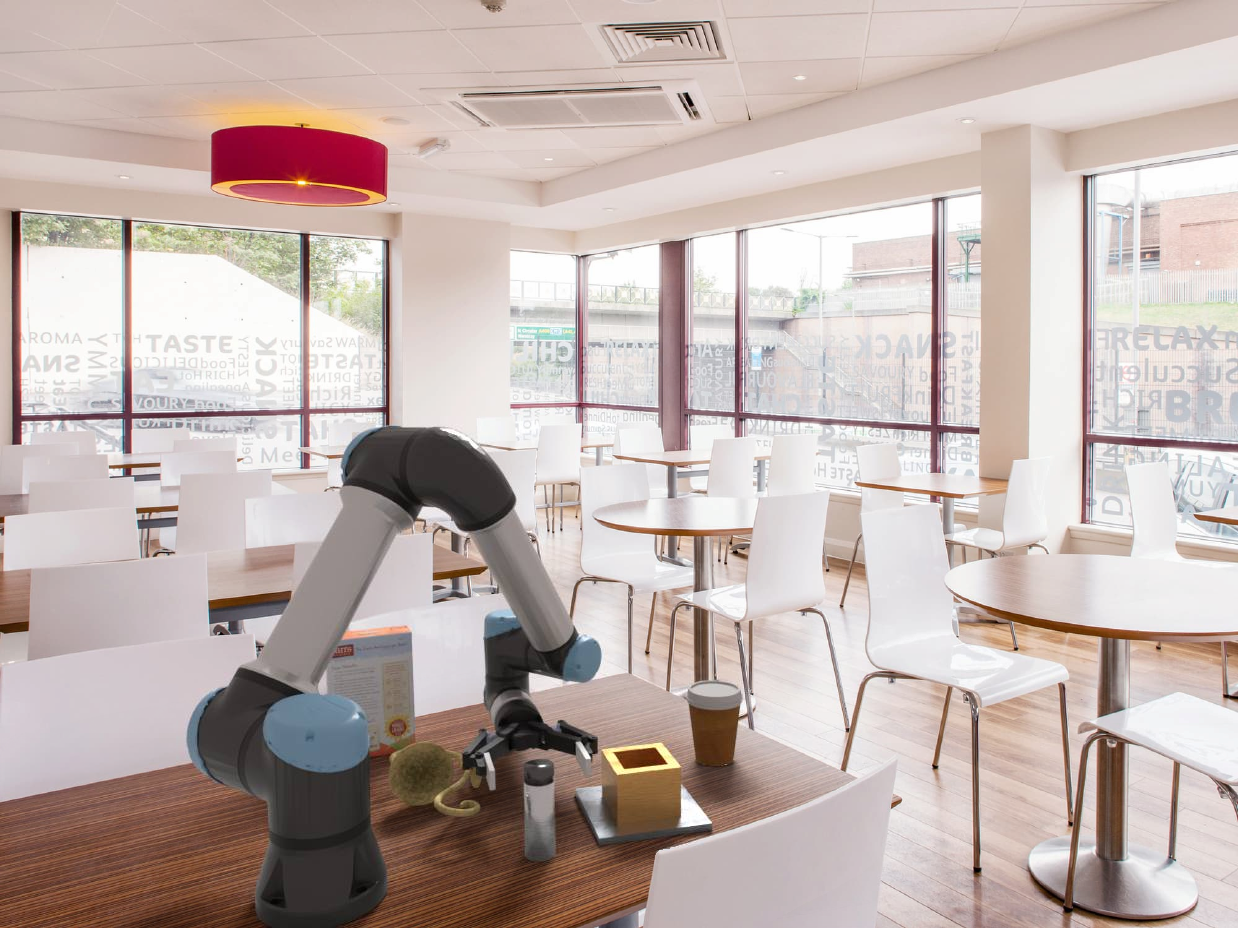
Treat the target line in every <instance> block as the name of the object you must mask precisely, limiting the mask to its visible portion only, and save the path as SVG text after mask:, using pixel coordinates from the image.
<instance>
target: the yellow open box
mask: <svg viewBox="0 0 1238 928" xmlns="http://www.w3.org/2000/svg"><path fill="white" fill-rule="evenodd" d="M574 792H575V793H574V795H575V797H576V799H577V802H578V804H579V805H580V809H581V810H582V812H583V814H584V817H585V819H586V821H587V823H588V824H589V827H590V828H591V829H590V830H591V831H592V834H593V835H594V837H595V839H596V842H597V843H598V846H606V845H614V844H622V843H628V842H636V841H643V840H651V839H658V838H665V837H672V836H679V835H678V834H681V835H687V833H688V834H695V833H702V832H710V831H713V823H712V821H711V820H710V819H709V817H708V816H707V814H706V813H705V812H704V811H703V809H702V808H701V807H700V805H699V804H698V802H696V800H695V799H694V798H693V797H692V795H691V794H690V793H689V792H688V790H687V789H686V787H684V784H682V766H681V765H680V764H679V763H678V762H677V760H676V759H675V758H674V756H673V755H672V754H671V752H669V750H668V749H667V748H666V747H665V745H664V744H663V743H662V742H657V743H649V744H646V743H645V744H638V745H629V746H619V747H610V748H604V749H603V748H602V749H601V785H596V786H595V785H593V786H585V787H577V788H575V789H574ZM693 832H694V833H693Z"/></svg>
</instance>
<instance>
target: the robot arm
mask: <svg viewBox="0 0 1238 928" xmlns="http://www.w3.org/2000/svg"><path fill="white" fill-rule="evenodd" d="M340 469H341V470H342V473H341V474H340V477H341V478H340V480H341V483H342V485H341V487H340V489H339V491H338V494H339V496H340V499H341V500H340V501H341V503H342V507H341V510H340V511H339V513H338V514H337V516H336V518H335V520H334V522H333V523H332V525H331V527H330V529H329V530H328V532H327V534H326V536H325V538H324V539H323V541H322V543H321V545H320V546H319V549H318V550H317V552H316V554H315V556H314V557H313V558H312V561H311V562H310V564H309V566H308V568H307V569H306V571H305V573H304V575H303V576H302V578H301V580H300V582H299V583H298V585H297V587H296V589H295V590H294V593H293V594H292V597H291V598H290V600H289V602H288V603H287V605H286V607H285V609H284V610H283V612H282V614H281V616H280V617H279V619H278V621H277V622H276V625H275V626H274V628H273V630H272V632H271V633H270V635H269V637H268V639H267V640H266V642H265V644H264V646H263V648H262V649H261V651H260V653H259V655H258V657H257V658H256V659H253V660H251V661H248V662H245V663H242V664H241V665H239V666H238V668H237V670H236V671H235V672H234V675H233V677H232V679H231V680H230V682H228V683H229V684H228V685H223V686H221V687H218V688H217V689H216V690H214V691H210V692H209V693H207V694H206V695H205V696H203V698H202V699H201V700H200V702H198V703H197V705H196V706H195V708H194V710H193V712H192V714H191V716H190V719H189V721H188V725H187V729H186V730H187V731H186V747H187V752H188V754H189V758H190V760H191V762H192V763H193V765H194V767H195V768H196V769H197V770H198V771H200V772H201V773H202V774H203V775H205V776H207V777H209V778H210V779H211V780H212V781H213V782H215V783H217V784H220V785H222V786H226V787H230V788H233V789H235V790H237V791H240V792H243V793H244V794H248V795H250V796H253V797H254V798H257V799H260V800H262V801H265V802H266V803H267V818H268V819H267V820H268V821H267V822H268V844H267V845H268V846H267V849H266V852H265V855H264V859H263V862H262V866H261V869H260V871H259V874H258V875H259V876H258V879H257V882H256V886H255V889H254V901H255V903H254V904H255V913H256V916H257V918H258V919H259V921H261V922H262V923H263V924H264V925H266V926H268V927H270V928H335V927H340V926H342V925H345V924H348V923H350V922H353V921H354V920H355V921H356V920H357V919H359V918H361V917H363V916H365V915H367V914H368V913H369V912H371V911H372V910H373V909H375V908H376V907H377V906H378V905H380V903H381V902H382V900H384V898H385V896H386V894H387V891H388V886H389V884H388V868H387V864H386V861H385V859H384V856H383V853H382V850H381V848H380V846H379V843H378V840H377V837H376V836H375V832H374V830H373V828H372V820H371V819H372V817H371V772H370V771H371V770H370V769H371V767H370V766H371V764H370V763H371V762H370V761H371V760H370V759H371V757H370V750H369V748H370V736H369V733H368V726H367V719H366V715H365V713H364V711H363V709H362V708H361V707H360V706H359V705H358V704H357V703H355V702H354V701H352V700H350V699H348V698H345V697H342V696H339V695H334V694H327V693H326V694H320V691H319V684H320V681H321V679H322V678H323V676H324V674H325V673H326V668H327V666H328V664H329V663H330V661H331V659H332V657H333V655H334V653H335V651H336V649H337V647H338V645H339V643H340V641H341V640H342V638H343V636H344V634H345V632H346V631H347V630H348V628H349V626H350V624H351V623H352V620H354V619H353V618H354V616H355V615H356V612H357V611H358V609H359V608H360V605H361V603H362V602H363V600H364V598H365V595H366V593H367V592H368V590H369V588H370V585H371V584H372V582H373V580H374V578H375V576H376V575H377V572H378V571H379V569H380V567H381V565H382V564H383V561H384V559H385V557H386V555H387V554H388V551H389V550H390V548H391V546H392V544H393V542H394V540H395V538H396V537H397V534H399V533H400V532H404V531H407V530H410V529H412V528H413V526H414V524H415V523H416V520H417V519H418V517H419V515H420V513H421V511H422V509H423V508H424V507H425V508H427V507H428V508H436V509H439V510H440V511H443V512H444V513H446V514H447V515H448V516H449V517H450V518H451V520H452V522H453V523H454V524H455V526H456V528H457V529H458V530H459V531H460V532H462V533H467V534H468V535H469V537H470V539H471V540H472V542H473V544H474V546H475V547H476V548H477V551H478V552H479V554H480V556H481V558H482V560H483V562H484V563H485V565H486V566H487V568H488V570H489V573H490V574H491V575H492V577H493V579H494V581H495V583H496V585H497V586H498V588H499V590H500V592H501V593H502V595H503V597H504V599H505V601H506V603H507V604H508V607H510V608H502V609H498V610H497V609H496V610H494V611H491V612H489V613H488V614H486V616H485V617H484V620H483V621H484V624H483V625H484V626H483V627H484V629H483V637H482V638H483V650H484V651H483V652H484V668H485V669H484V670H485V676H484V678H485V681H484V682H485V685H484V686H483V687H484V688H483V693H482V694H483V704H484V707H485V709H486V711H487V712H488V715H489V717H490V719H491V722H492V725H493V728H494V730H495V732H490V731H488V730H487V729H486V728H483V727H482V728H479V729H478V734H477V735H476V737H475V738H474V739H473V740H472V741H471V742H470V743H469V744H468V745H467V747H466V748H465V749H463V751H462V752H461V753H462V754H461V755H462V766H463V770H462V771H465V770H469V769H471V768H472V767H475V768H476V775H479V776H482V777H485V779H486V782H487V785H488V788H489V791H494V790H495V791H496V769H495V767H494V763H495V761H497V760H499V759H500V758H501V757H504V756H509V755H511V754H512V753H514V752H524V751H527V750H529V749H532V750H535V749H538V750H541V751H545V752H548V751H549V750H553V751H557V752H561V753H563V754H568V755H571V756H575V760H576V762H577V764H578V766H579V768H580V769H581V771H582V773H583V774H584V777H585V778H587V779H588V778H592V763H593V761H594V760H593V756H594V755H597V754H599V738H598V736H597V735H595V734H592V733H590V732H587V731H585V730H583V729H580V728H578V727H576V726H573V725H572V724H569V723H568V722H567V721H566V720H565V719H558V720H557V723H556V725H550V726H549V724H547V723H545V722H544V719H543V717H542V715H541V713H540V711H539V710H538V708H537V705H536V704H535V702H534V700H533V699H532V697H531V694H530V674H536V675H540V676H544V677H549V678H552V679H557V680H562V681H564V682H567V683H568V682H573V683H581V684H586V683H588V682H590V681H591V680H593V679H594V678H595V676H596V674H597V672H599V670H600V668H601V662H602V648H601V645H600V643H599V641H598V640H596V639H595V638H593V637H590V636H588V635H586V634H580V633H579V632H578V630H577V627H576V626H575V625H574V622H573V621H572V618H571V616H570V614H569V613H568V611H567V609H566V607H565V605H564V603H563V600H562V599H561V596H560V595H559V593H558V592H557V588H556V587H555V584H554V583H553V581H552V579H551V577H550V575H549V574H548V572H547V569H546V567H545V566H544V563H543V561H542V560H541V558H540V556H539V554H538V551H537V550H536V548H535V547H534V546H535V545H534V544H533V542H532V541H531V538H530V537H529V535H528V533H527V531H526V528H525V526H524V525H523V522H522V521H521V519H520V517H519V515H518V513H517V511H516V509H515V508H516V505H517V499H518V498H517V497H516V496H517V495H516V494H515V492H514V490H513V488H512V486H511V485H510V483H509V481H508V478H507V477H506V476H505V473H503V471H502V470H501V468H500V467H499V465H498V464H497V463H496V462H495V460H494V459H493V458H492V457H491V455H490V454H489V453H487V451H486V450H485V449H484V448H483V447H482V446H481V445H480V444H479V443H477V441H475V440H474V439H473V438H472V437H470V436H468V435H467V434H465V433H463V432H461V431H459V430H458V429H453V428H452V427H445V426H430V427H429V426H421V427H419V426H418V427H416V426H415V427H413V426H411V427H410V426H406V427H404V426H402V425H392V424H391V425H383V426H379V427H373V428H368V429H366V430H363V431H362V432H360V433H359V434H358V435H356V436H355V437H354V438H353V439H352V440H351V441H350V442H349V444H348V445H347V446H346V448H345V451H344V452H343V454H342V458H341V462H340Z"/></svg>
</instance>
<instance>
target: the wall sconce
mask: <svg viewBox="0 0 1238 928" xmlns="http://www.w3.org/2000/svg"><path fill="white" fill-rule="evenodd" d="M453 759H455V760H457V761H459V762H460V763H459V769H460V770H461V771H464V774H463V775H462V777H461V778H459V780H458V781H456V782H455V783H454V784H452V785H451V783H452V781H453V779H454V772H455V771H454V770H455V767H454V761H453ZM388 762H389V765H390V767H389V768H388V769H389V770H388V777H387V778H388V784H389V788H390V790H391V792H392V793H393V795H394V797H396V799H397V800H399V801H401V802H402V803H404V804H406V805H410V806H416V807H417V806H425V805H429V804H431V803H433V805H434V808H435V809H436V810H437V811H439V812H440V813H442V814H445V815H447V816H450V817H459V818H460V817H461V818H464V817H472V816H474V815H476V814H478V813H479V812H480V811H481V804H479V802H477V801H475V800H470V799H468V800H467V799H466V800H463V801H461V802H460V803H459V807H460V808H453V807H448V806H446V805H445V804H443V803H442V801H443V800H445V799H446V798H447V797H449V796H450V795H452V794H454V793H455V792H456V791H457V790H459V789H461V788H462V787H464V785H465V784H466V783H467V782H468V780H469V779H470V781H471V787H472V788H474V789H478V788H479V787H480V785H481V781H482V778H483V776H479V775H476V768H475V767H472V768H471V769H469V770H463V766H462V754H461V753H458V752H456V751H453V750H449V749H446V748H444V747H443V746H441V745H439V744H438V743H435V742H431V741H419V742H416V743H414V744H411V745H409V746H407V747H405V748H404V749H402V750H399V751H396V752H394V753H393V754H390V756H389V758H388ZM461 808H462V809H461Z"/></svg>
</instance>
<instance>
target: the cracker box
mask: <svg viewBox="0 0 1238 928" xmlns="http://www.w3.org/2000/svg"><path fill="white" fill-rule="evenodd" d="M412 634H413V633H412V631H411V629H410V627H409V626H408V625H406V624H404V625H396V626H395V625H394V626H386V627H376V628H366V629H359V630H358V629H357V630H348V631H347V630H346V632H345V634H344V636H343V638H342V640H341V641H340V643H339V645H338V647H337V649H336V651H335V653H334V655H333V657H332V659H331V661H330V663H329V664H328V666H327V668H326V670H325V674H326V676H325V678H326V694H334V695H339V696H342V697H345V698H348V699H350V700H352V701H354V702H355V703H357V704H358V705H359V706H360V707H361V708H362V709H363V711H364V713H365V715H366V719H367V726H368V733H369V736H370V748H369V750H370V758H374V757H375V758H376V757H381V756H387V755H388V756H389V755H392V754H393V753H394V752H396V751H399V750H402V749H404V748H405V747H407V746H409V745H411V744H414V743H417V742H416V719H415V717H416V716H415V715H416V713H415V712H416V711H415V709H416V708H415V688H414V687H415V685H414V684H415V683H414V682H415V681H414V660H413V659H414V658H413V635H412Z"/></svg>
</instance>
